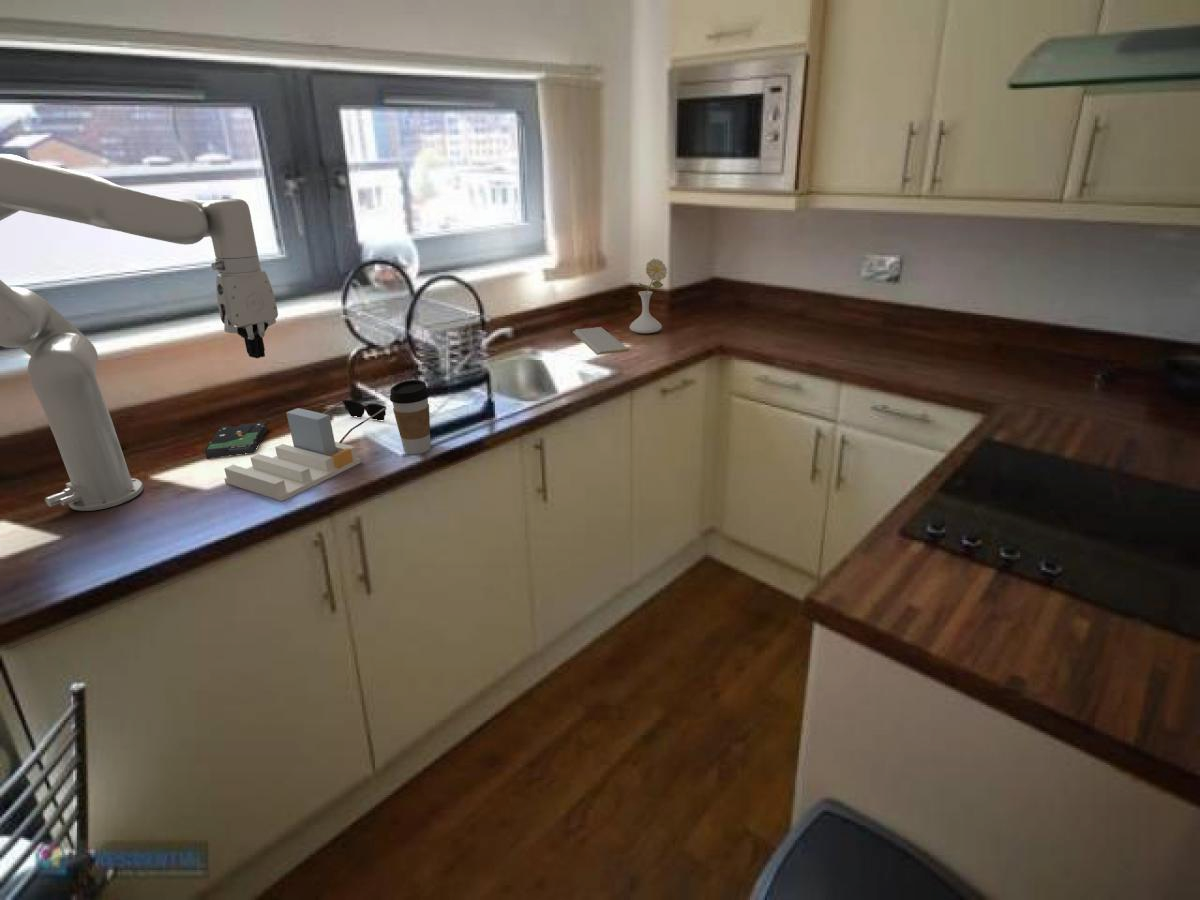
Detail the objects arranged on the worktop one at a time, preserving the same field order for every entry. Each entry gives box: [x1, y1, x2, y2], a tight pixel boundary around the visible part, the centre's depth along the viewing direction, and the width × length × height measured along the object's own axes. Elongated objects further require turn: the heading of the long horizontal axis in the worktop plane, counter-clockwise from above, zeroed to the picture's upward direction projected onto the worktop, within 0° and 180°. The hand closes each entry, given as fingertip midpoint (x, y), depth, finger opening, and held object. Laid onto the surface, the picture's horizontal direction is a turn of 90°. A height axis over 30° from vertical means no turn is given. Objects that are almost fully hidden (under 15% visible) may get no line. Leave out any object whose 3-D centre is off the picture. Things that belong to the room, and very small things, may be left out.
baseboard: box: [572, 323, 629, 356], centre depth 238 cm, size 31×3×12 cm
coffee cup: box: [389, 379, 432, 455], centre depth 156 cm, size 8×8×15 cm
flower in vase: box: [629, 258, 668, 334], centre depth 243 cm, size 13×11×25 cm
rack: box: [223, 441, 362, 502], centre depth 149 cm, size 20×18×4 cm
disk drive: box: [203, 421, 268, 459], centre depth 165 cm, size 10×3×15 cm
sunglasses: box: [322, 399, 387, 444], centre depth 170 cm, size 14×16×5 cm
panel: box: [286, 407, 337, 457], centre depth 152 cm, size 3×10×10 cm, turn 60°
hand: (257, 356), depth 146 cm, fingers closed
